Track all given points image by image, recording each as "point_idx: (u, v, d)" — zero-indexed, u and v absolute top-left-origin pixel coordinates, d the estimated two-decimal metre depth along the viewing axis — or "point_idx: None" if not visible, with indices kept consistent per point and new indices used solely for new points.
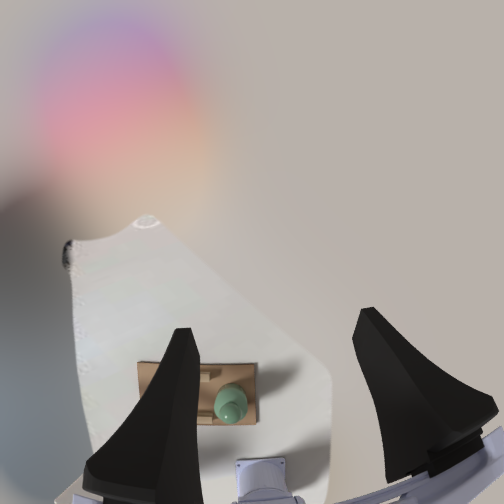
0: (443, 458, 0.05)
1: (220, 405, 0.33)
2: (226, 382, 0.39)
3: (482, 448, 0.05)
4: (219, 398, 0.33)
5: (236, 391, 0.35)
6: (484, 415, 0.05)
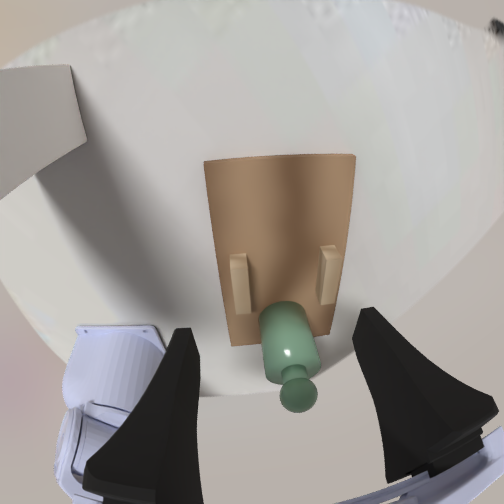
0: (443, 458, 0.05)
1: (300, 361, 0.20)
2: (307, 310, 0.25)
3: (482, 448, 0.05)
4: (313, 358, 0.20)
5: None
6: (484, 415, 0.05)
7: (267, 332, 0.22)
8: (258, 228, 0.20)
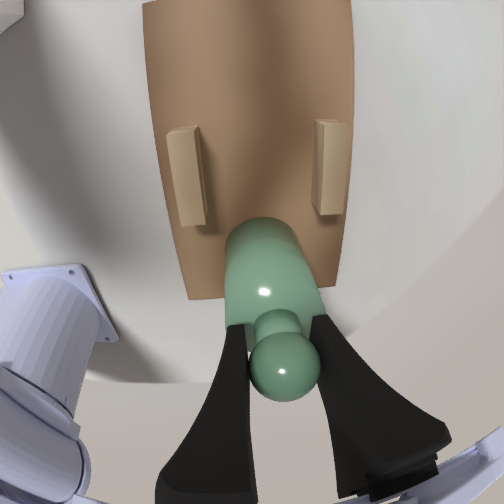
0: (385, 484, 0.05)
1: (287, 302, 0.11)
2: (300, 237, 0.17)
3: (482, 448, 0.05)
4: (312, 297, 0.11)
5: None
6: (428, 445, 0.05)
7: (232, 259, 0.14)
8: (215, 83, 0.11)
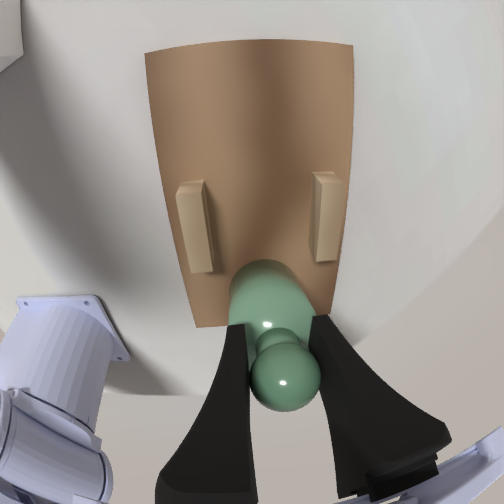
0: (385, 484, 0.05)
1: (286, 319, 0.12)
2: (298, 275, 0.18)
3: (482, 448, 0.05)
4: (309, 315, 0.12)
5: None
6: (428, 445, 0.05)
7: (236, 291, 0.15)
8: (219, 140, 0.13)
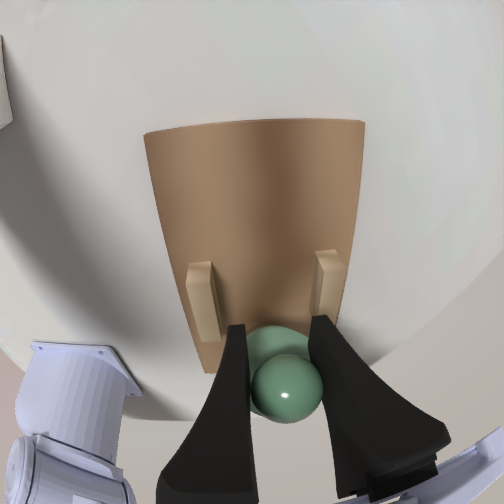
0: (384, 484, 0.05)
1: (287, 347, 0.12)
2: None
3: (482, 448, 0.05)
4: None
5: None
6: (427, 445, 0.05)
7: None
8: (225, 226, 0.14)
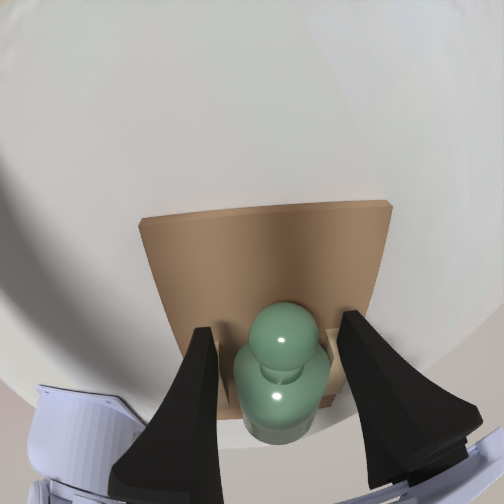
0: (423, 468, 0.05)
1: None
2: None
3: (482, 448, 0.05)
4: None
5: None
6: (465, 426, 0.05)
7: None
8: (234, 314, 0.13)
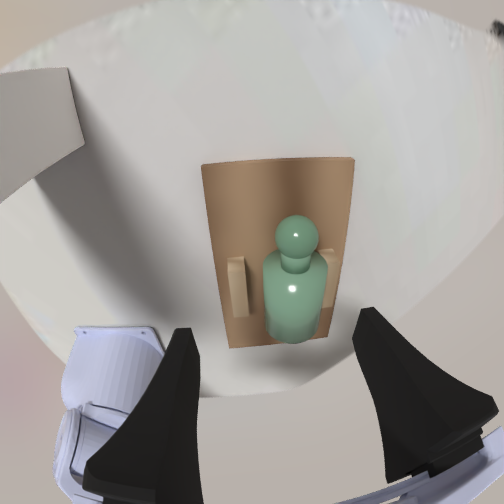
0: (443, 458, 0.05)
1: None
2: None
3: (482, 448, 0.05)
4: None
5: None
6: (484, 415, 0.05)
7: None
8: (256, 232, 0.20)
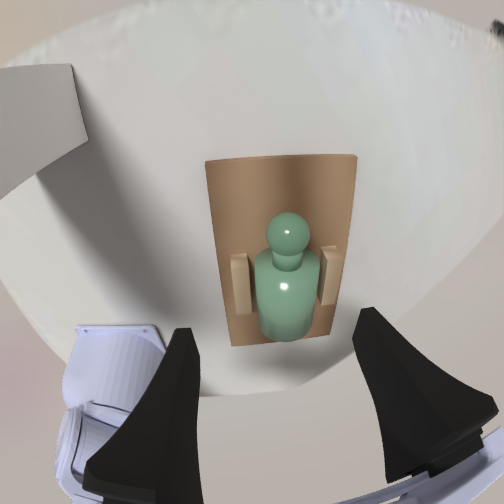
0: (443, 458, 0.05)
1: None
2: None
3: (482, 448, 0.05)
4: (306, 250, 0.20)
5: (317, 285, 0.19)
6: (484, 415, 0.05)
7: None
8: (259, 228, 0.20)
